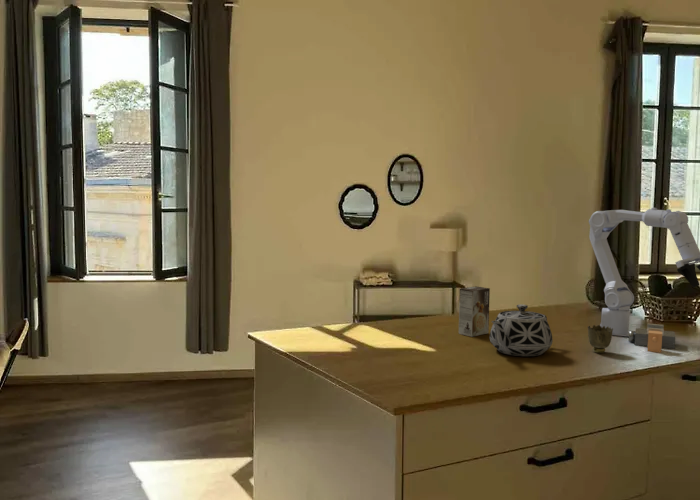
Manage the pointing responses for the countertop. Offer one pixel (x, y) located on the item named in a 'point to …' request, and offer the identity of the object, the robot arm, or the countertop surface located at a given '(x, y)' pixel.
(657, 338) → the tan single stud brick
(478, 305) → the coffee box
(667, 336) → the grey plate with rails
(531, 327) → the patterned lidded jar
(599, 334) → the cup
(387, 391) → the countertop surface
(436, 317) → the countertop surface
